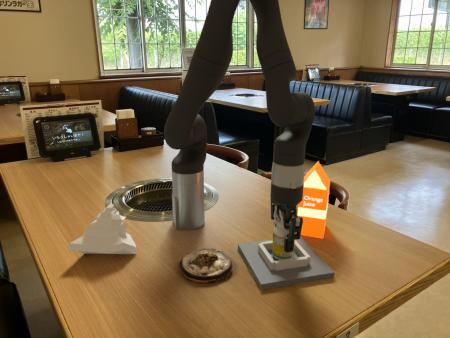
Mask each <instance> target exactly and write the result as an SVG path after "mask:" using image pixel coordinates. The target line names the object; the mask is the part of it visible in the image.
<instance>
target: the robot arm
mask: <svg viewBox="0 0 450 338" xmlns="http://www.w3.org/2000/svg"><path fill="white" fill-rule="evenodd" d="M279 1H280V0H249V2H250V4H251V6H252V9H253V12H254V14H255V18H256V39H255V42H256V43H255V50H256V55H257V59H258V62H259V65H260V68H261V71H262V75H263V77H264V81H265V100H266V109H267V110H266V111H267V113H268V117H269V119H270V120H271V122H272V123H273V124H275V126H277V127H279V128H284V131H283V132H282V133H281V134H280V135H279V136H277V137H276V138H275V139H274V144H273V153H272V154H273V156H272V157H273V159H272V167H271V173H270V175H271V178H270V195H269V196H270V220H272V221H273V225H274V227H275V226H277V225H276V221H277V219H278V218H279V219H281V224H282V228H283V229H284V233H285V240H284V251H285V252H286V253H288V252H293V250H294V240H298V239H300V236H301V237H302V235H301V230H302V225H303V218H302V217H298V205H299V203H300V202H301V201H302V200H303V189H304V176H305V175H306V173H305V159H306V158H305V157H306V146H307V142H308V139H309V137H310V134H311V130H312V127H313V124H314V120H315V115H316V107H315V103H314V99H313V98H312V96H311V95H310V94H308V93H307V92H304V91H295V92H291V87H290V83H291V82H293V81H294V80H295V79H296V77H297V76H298V75H297V74H298V73H297V72H298V71H297V67H296V64H295V61H294V57H293V54H292V52H291V51H292V50H291V49H290V48H291V47H290V46H289V43H288V40H287V36H286V33H285V28H284V23H283V20H282V14H281V9H280V8H281V7H280V3H279ZM240 2H241V0H210V3H209V6H208V10H207V13H206V16H205V20H204V22H203V26H202V28H201V31H200V34H199V38H198V41H197V43H196V46H195V48H194V51H193V53H192V55H191V59H190V62H189V66H188V68H187V72H186V74H185V77H184V79H183V82H182V85H181V88H180V90H179V93H178V95H177V98H176V101H175V102H174V105H173V107H172V108H171V111H170V113H169V114H168V116H167V118H166V121H165V124H164V129H163V136H164V137H163V138H164V141H165V143H166V144H167V146H168V147H169V148H170V149H173V150H176V151H177V150H179V151H178V153H177V155H176V156H175V157H173V159H172V161H171V179H172V180H171V181H172V182H171V183H172V186H171V187H172V192H171V199H172V201H171V203H172V205H171V207H172V221H173V225H174V228H175V229H176V230H183V231H184V230H187V231H190V230H197V229H200V228H201V227H203V226H204V225H205V223H206V221H205V218H206V217H205V216H206V215H205V177H204V176H205V174H204V173H205V170H204V169H205V168H204V167H205V162H206V159H207V153H208V152H207V149H208V129H207V125H206V122H205V119H204V118H203V117H202V116H201V115H200V114H199V113H200V111H201V109H202V107H203V106H204V105H205V104H206V102H207V101H209V99H210V97H212V95H213V94H214V93H215V91H216V90H218V88H219V86H221V84H222V82H223V80H224V78H225V77H226V74H227V72H228V69H229V68H230V64H231V61H232V59H233V55H234V54H233V53H234V37H233V22H234V18H235V14H236V11H237V8H238V6H239V3H240ZM285 223H290V225H286V224H285ZM288 229H289V234H288Z"/></svg>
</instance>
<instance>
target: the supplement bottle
mask: <svg viewBox="0 0 450 338" xmlns="http://www.w3.org/2000/svg"><path fill="white" fill-rule="evenodd" d="M285 224H286V225H290V223H285ZM276 225H277V226H275V225H274V227H273V230H272V239H273V245H272V255H273V257H274V258H276V259H278V260H285V259H291V258H293V256H294V250H293V252H288V253H286V252H285V251H284V240H285V233H284V229H283V228H282V224H281V219H279V218H278V219H277V221H276ZM288 234H289V229H288ZM294 244H295V240H294Z"/></svg>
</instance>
